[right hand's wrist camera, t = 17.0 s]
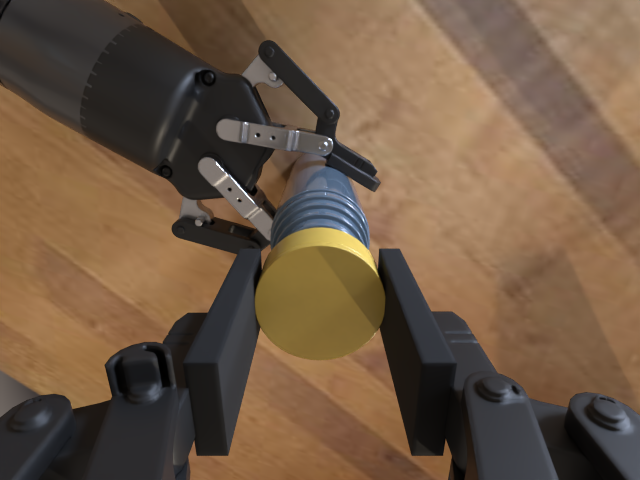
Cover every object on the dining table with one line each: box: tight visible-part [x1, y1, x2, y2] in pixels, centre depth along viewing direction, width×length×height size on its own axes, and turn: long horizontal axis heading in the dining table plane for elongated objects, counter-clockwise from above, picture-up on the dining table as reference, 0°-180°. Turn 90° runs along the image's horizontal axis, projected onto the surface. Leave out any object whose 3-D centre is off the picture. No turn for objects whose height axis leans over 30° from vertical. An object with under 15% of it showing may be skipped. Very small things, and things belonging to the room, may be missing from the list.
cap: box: [255, 227, 385, 360], centre depth 14 cm, size 4×4×2 cm
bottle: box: [270, 153, 370, 250], centre depth 23 cm, size 5×5×20 cm
